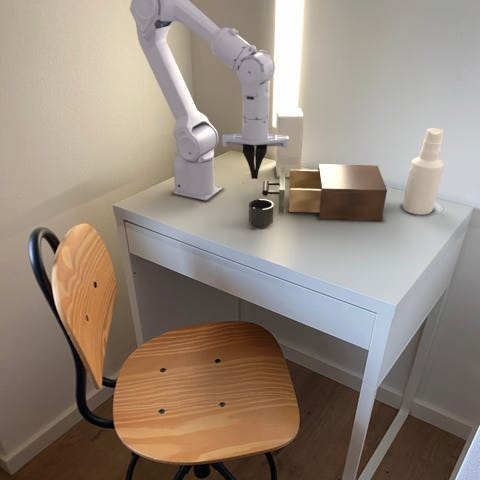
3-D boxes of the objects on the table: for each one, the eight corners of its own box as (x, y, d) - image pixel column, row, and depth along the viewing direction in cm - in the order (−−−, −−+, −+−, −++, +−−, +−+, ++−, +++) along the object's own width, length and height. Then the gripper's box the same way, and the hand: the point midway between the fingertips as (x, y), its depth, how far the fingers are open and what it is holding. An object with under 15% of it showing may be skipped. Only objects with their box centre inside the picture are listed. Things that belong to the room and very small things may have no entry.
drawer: (261, 213, 115) (261, 189, 112) (263, 189, 126) (263, 166, 122) (335, 215, 114) (338, 191, 111) (331, 191, 125) (334, 168, 121)
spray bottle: (433, 204, 120) (452, 127, 109) (431, 217, 115) (452, 137, 104) (403, 200, 122) (419, 124, 111) (400, 212, 117) (417, 133, 106)
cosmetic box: (300, 178, 133) (305, 116, 124) (275, 178, 133) (277, 116, 124) (297, 166, 140) (302, 107, 130) (274, 166, 140) (276, 107, 130)
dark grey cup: (272, 230, 110) (273, 209, 107) (248, 229, 111) (248, 209, 108) (272, 219, 114) (273, 199, 112) (249, 218, 115) (249, 198, 112)
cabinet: (318, 219, 114) (322, 188, 110) (316, 193, 126) (318, 164, 121) (381, 221, 114) (387, 190, 109) (372, 194, 125) (377, 165, 120)
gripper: (289, 111, 111) (286, 171, 120) (223, 110, 112) (224, 169, 120) (289, 120, 106) (286, 183, 114) (220, 119, 107) (222, 181, 115)
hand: (254, 177), depth 117 cm, fingers closed
